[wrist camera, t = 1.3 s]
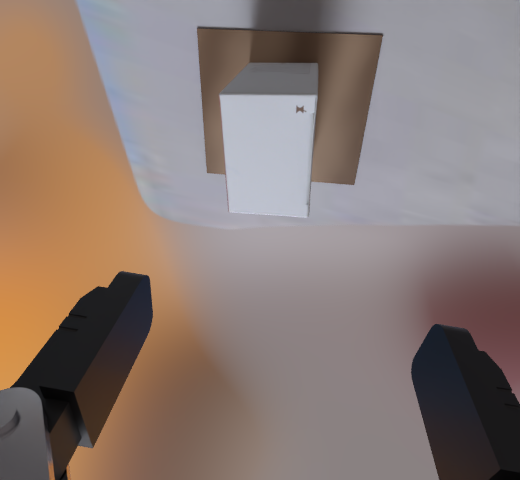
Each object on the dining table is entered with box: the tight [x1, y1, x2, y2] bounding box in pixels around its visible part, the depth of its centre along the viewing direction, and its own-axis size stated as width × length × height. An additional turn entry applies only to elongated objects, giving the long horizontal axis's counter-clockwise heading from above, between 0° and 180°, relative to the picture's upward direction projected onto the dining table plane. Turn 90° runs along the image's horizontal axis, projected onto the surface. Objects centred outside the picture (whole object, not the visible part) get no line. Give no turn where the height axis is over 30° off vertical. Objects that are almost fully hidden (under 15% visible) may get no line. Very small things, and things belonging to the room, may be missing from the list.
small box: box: [219, 63, 318, 218], centre depth 26 cm, size 8×6×10 cm
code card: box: [197, 29, 383, 185], centre depth 30 cm, size 14×12×1 cm
